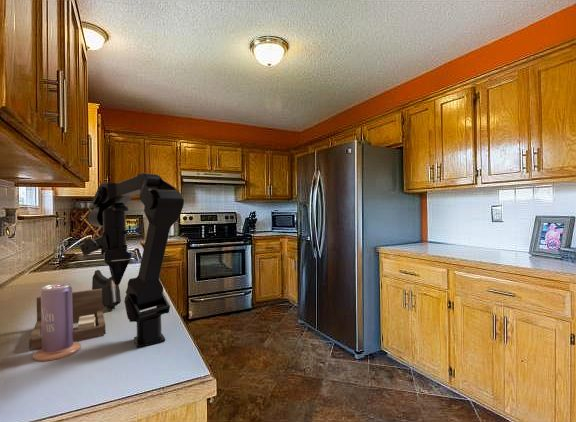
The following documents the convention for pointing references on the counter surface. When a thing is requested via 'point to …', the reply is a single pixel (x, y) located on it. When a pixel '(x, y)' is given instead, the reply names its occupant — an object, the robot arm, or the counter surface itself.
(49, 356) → the peach round disc
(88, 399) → the counter surface
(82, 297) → the walnut rack
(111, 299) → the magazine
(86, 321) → the offcut stack
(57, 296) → the beverage can
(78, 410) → the counter surface
